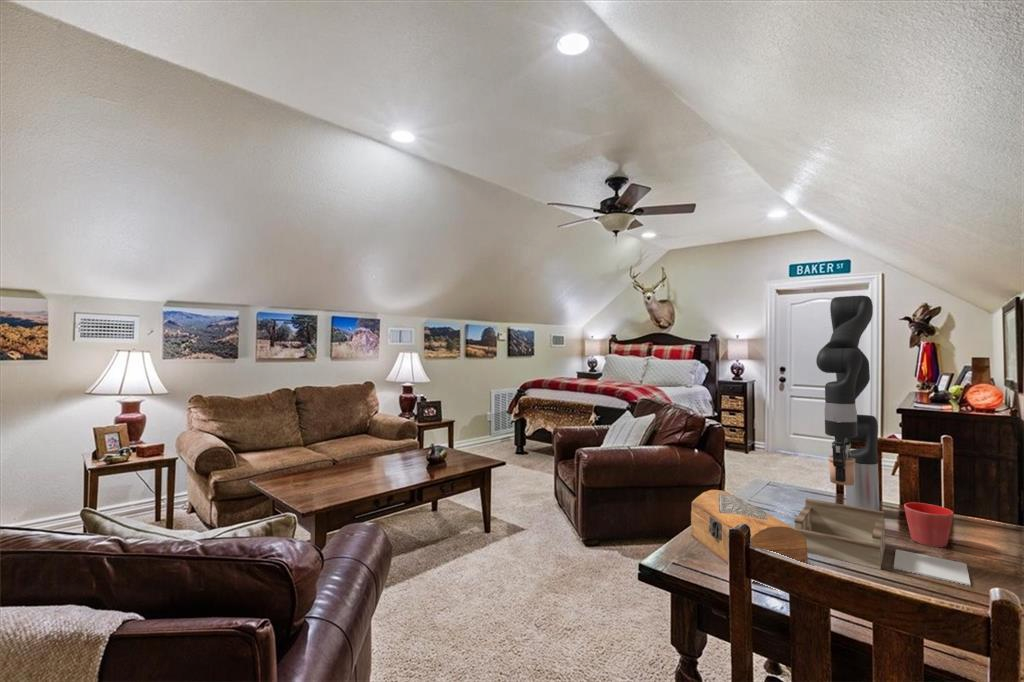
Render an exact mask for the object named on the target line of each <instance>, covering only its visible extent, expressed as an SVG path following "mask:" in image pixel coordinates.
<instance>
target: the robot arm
mask: <svg viewBox="0 0 1024 682" xmlns="http://www.w3.org/2000/svg"><path fill="white" fill-rule="evenodd" d="M830 301H831V302H830V306H829V309H830V319H831V320H830V321H831V328H832V334H831V337H830V340H829V341H828V342H827V343H826V344H825V345H824V346H822V348H820V350H819V352H818V353H817V356H816V361H815V362H816V367H817V368H818V369H819V370H820V371H821V372H823V373H826V374H835V377H836V380H834V381H829V382H827V383H825V385H824V398H825V401H824V403H825V404H824V434H825V435H826V436H828V437H833V438H834V440H833V441H832V442H831V448H832V455H833V466H835V473H836V481H839V482H845V481H846V476H845V468H846V460H848V457H852V458H855V463H854V485H844V486H845V487H844V488H845V505H848V506H854V507H860V508H866V509H872V510H878V511H880V490H879V489H880V488H879V487H880V486H879V485H880V484H879V458H878V457H879V456H878V455H879V454H878V441H879V440H878V438H879V437H878V436H879V424H878V420H877V417H876V416H874V415H868V414H858V412H857V408H856V399H857V398H858V397H859V396H860V395H861V394H862V392H863V391H864V390H865V389H866V387H867V386H868V384H869V383H870V379H871V377H870V376H871V375H870V371H871V370H870V362H869V359H868V357H867V356H866V355H865V354H864V352H863V351H862V350H861V349H860V348H859V344H860V340H861V337H862V335H863V333H864V332H865V331H866V328H867V327H868V326H869V324H870V323H871V320H872V318H873V311H874V307H873V305H874V304H873V302H872V299H871V298H870V296H868V295H847V296H837V297H836V296H835V297H833V298H832V299H831V300H830ZM851 442H860V443H861V442H862V443H865V445H864V446H861V447H859V448H856V449H851ZM837 459H841V460H842V463H840V462H837Z"/></svg>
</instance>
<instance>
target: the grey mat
mask: <svg viewBox="0 0 1024 682" xmlns="http://www.w3.org/2000/svg"><path fill="white" fill-rule="evenodd" d="M893 569H894V570H897V569H898V570H897V571H901V570H902V571H901V572H905V571H906V572H905V573H910V572H912V573H911V574H914V573H916V574H915V575H919V574H920V575H919V576H924V577H927V578H932V579H937V580H940V579H941V581H945V580H946V582H949V581H951V582H950V583H953V582H955V583H954V584H958V583H960V584H959V585H962V584H965V585H964V586H967V585H969V586H968V587H971V580H970V575H969V571H968V567H967V563H964V562H959V561H956V560H955V561H954V560H951V559H950V560H949V559H947V558H946V559H945V558H941V557H936V556H930V555H926V554H921V553H917V552H916V553H915V552H910V551H907V550H901V549H897V548H896V549H895V555H894V562H893Z"/></svg>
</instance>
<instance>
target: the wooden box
mask: <svg viewBox="0 0 1024 682" xmlns="http://www.w3.org/2000/svg"><path fill="white" fill-rule="evenodd" d="M740 524H747V525H748V526H749V527H750V530H751V546H753V547H756V548H760V549H765V550H769V551H773V552H776V553H779V554H781V555H784V556H787V557H789V558H792V559H795V560H797V561H800V562H803V563H806V564H808V565H809V563H808V562H809V561H808V558H809V557H808V552H807V543H806V538H805V537H804V536H803V535H802V534H801V533H800V532H799V531H797V530H796V529H795V527H793V526H792V525H789V524H787V523H785V522H784V521H781V520H780V519H778V518H776V517H774V516H772V515H771V514H769V513H767V512H766V511H764V510H762V509H761V508H759V506H758V507H757V506H755V505H753V504H751V503H750V502H749V503H748V501H747V502H746V501H744V500H743V499H741V498H740V497H739V498H738V497H737V496H735V495H733V494H731V493H730V492H728V491H726V490H723V489H722V490H719V489H710V490H707V491H703V492H702V493H701V494H699V495H698V496H697V497H695V499H693V500H692V501H691V510H690V530H691V532H690V533H691V538H693V539H694V540H696V541H697V542H698V543H700V545H702V546H703V547H704V548H706V550H708V551H710V552H711V553H712V554H713V555H715V556H716V557H717V558H718V559H720V560H721V561H722V560H723V561H722V562H724V563H725V564H726V565H727V566H728V531H729V529H730V528H733V527H735V526H737V525H740ZM751 584H758V583H757V582H755V581H753V582H752V583H751Z"/></svg>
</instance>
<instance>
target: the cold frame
mask: <svg viewBox="0 0 1024 682" xmlns="http://www.w3.org/2000/svg"><path fill="white" fill-rule="evenodd" d="M804 502H805V505H804V506H803V508H802V509H801V511H800V512H799V513H798V514H797V516H796V517H795V519H794V529H796V530H797V531H799V532H800V533H801V534H802V535H803V536H804V537H805V538H806V543H807V554H813V555H818V556H821V557H826V558H830V559H834V560H839V561H843V562H847V563H852V564H855V565H861V566H864V567H869V568H873V569H877V570H881V569H882V564H883V559H884V555H885V548H886V538H885V537H886V533H885V532H886V531H885V527H886V526H885V521H886V520H885V511H883V510H879V511H878V510H872V509H866V508H860V507H854V506H848V505H846V504H841V503H837V502H836V503H835V502H830V501H823V500H818V499H810V498H807V497H806V498H805V500H804Z"/></svg>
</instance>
